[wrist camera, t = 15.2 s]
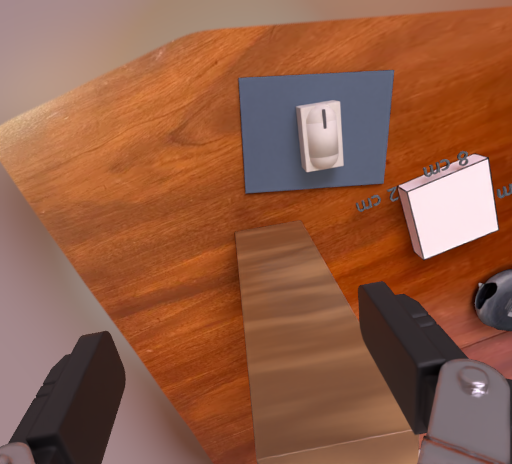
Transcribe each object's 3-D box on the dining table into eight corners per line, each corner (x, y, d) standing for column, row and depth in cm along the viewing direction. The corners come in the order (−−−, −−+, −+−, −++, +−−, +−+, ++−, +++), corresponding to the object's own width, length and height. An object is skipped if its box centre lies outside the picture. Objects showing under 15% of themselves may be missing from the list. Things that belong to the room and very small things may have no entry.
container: (374, 268, 47) (383, 278, 44) (349, 189, 42) (357, 196, 40) (526, 206, 45) (544, 213, 43) (517, 118, 41) (536, 120, 38)
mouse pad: (245, 192, 41) (245, 193, 41) (238, 78, 36) (238, 78, 36) (382, 182, 42) (383, 183, 42) (392, 70, 37) (394, 69, 37)
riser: (234, 231, 43) (256, 460, 17) (300, 220, 43) (420, 428, 17) (250, 313, 48) (286, 589, 22) (310, 303, 48) (414, 563, 22)
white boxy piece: (295, 105, 38) (302, 108, 34) (333, 99, 38) (344, 101, 34) (301, 167, 40) (309, 175, 37) (337, 161, 40) (347, 169, 37)
